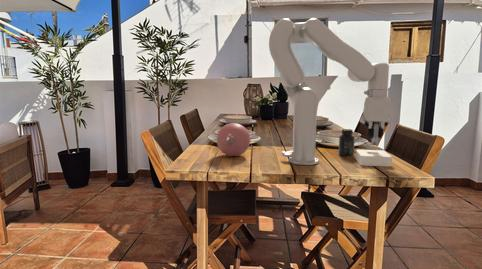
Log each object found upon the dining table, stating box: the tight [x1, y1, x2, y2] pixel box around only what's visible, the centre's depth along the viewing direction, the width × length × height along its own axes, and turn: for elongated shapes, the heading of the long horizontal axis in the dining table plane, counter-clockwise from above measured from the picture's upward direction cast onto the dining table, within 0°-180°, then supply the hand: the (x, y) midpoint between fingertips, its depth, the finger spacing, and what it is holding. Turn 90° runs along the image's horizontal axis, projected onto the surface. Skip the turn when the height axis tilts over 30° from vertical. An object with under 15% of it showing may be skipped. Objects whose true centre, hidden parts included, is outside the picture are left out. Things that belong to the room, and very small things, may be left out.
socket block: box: [354, 149, 393, 168], centre depth 134 cm, size 12×12×4 cm
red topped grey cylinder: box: [370, 122, 380, 146], centre depth 132 cm, size 5×5×12 cm
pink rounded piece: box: [216, 122, 251, 157], centre depth 143 cm, size 15×20×15 cm
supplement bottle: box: [338, 128, 356, 157], centre depth 147 cm, size 7×7×12 cm
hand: (375, 137), depth 133 cm, fingers closed on red topped grey cylinder, 3 cm apart
